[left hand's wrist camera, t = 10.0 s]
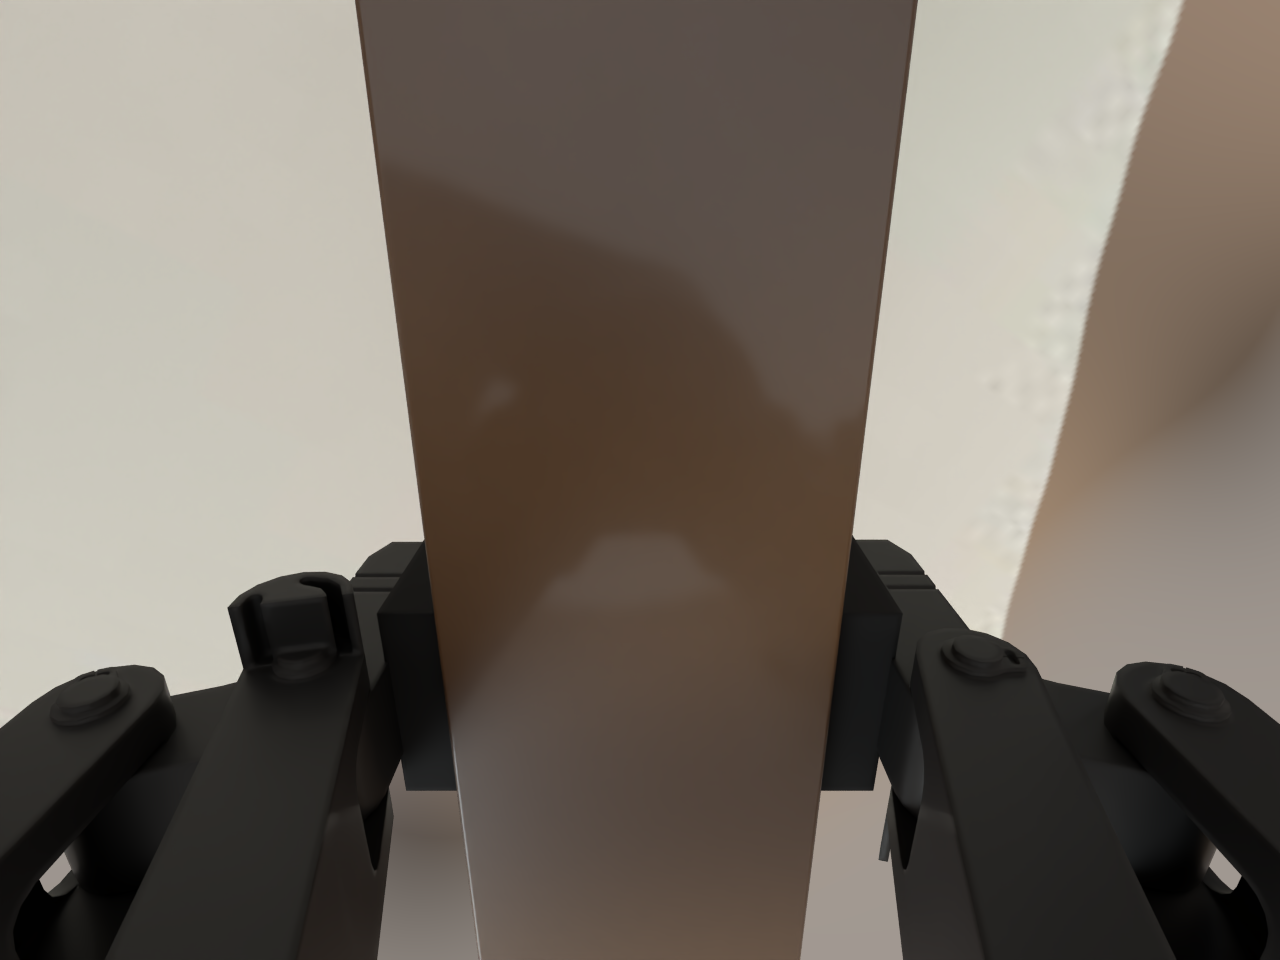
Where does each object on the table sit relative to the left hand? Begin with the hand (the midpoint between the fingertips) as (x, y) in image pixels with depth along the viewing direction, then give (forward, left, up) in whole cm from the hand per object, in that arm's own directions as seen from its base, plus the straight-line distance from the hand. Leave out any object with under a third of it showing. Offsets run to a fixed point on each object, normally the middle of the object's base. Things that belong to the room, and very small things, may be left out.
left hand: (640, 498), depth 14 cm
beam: (-12, +14, -1) cm, 18 cm away
